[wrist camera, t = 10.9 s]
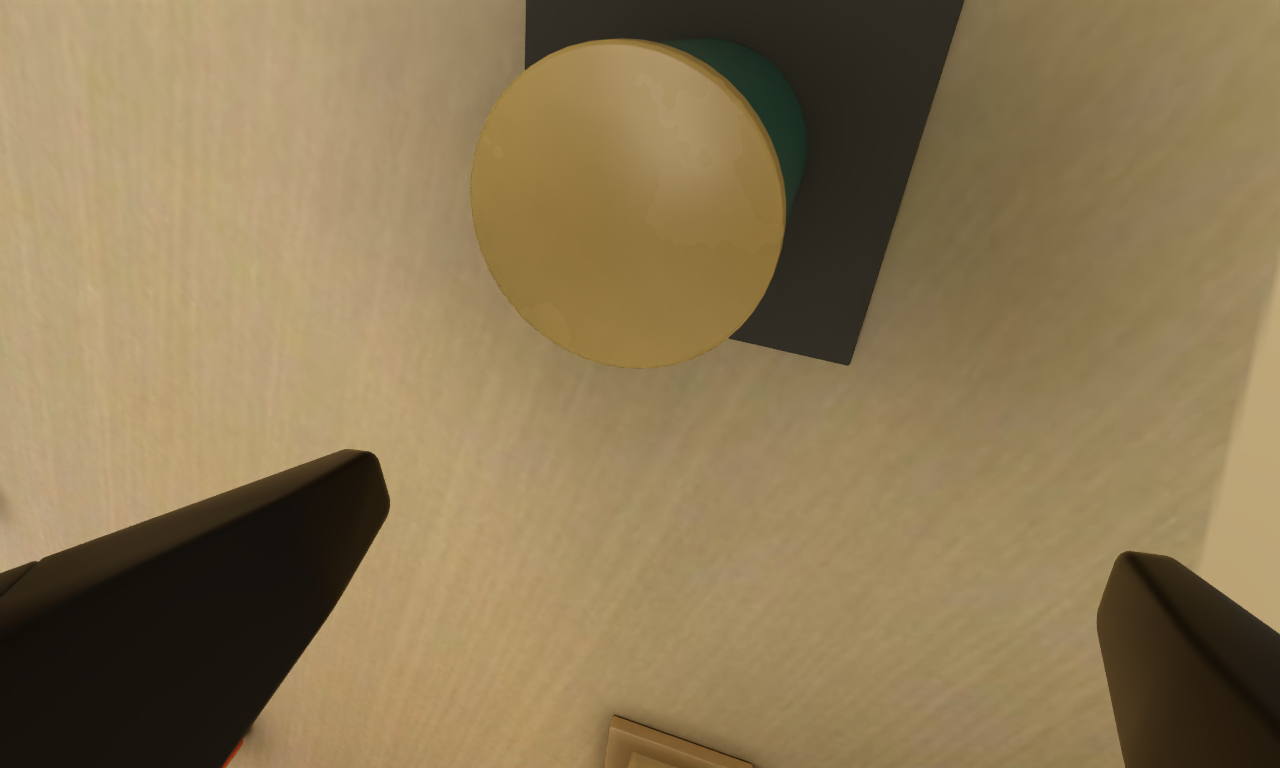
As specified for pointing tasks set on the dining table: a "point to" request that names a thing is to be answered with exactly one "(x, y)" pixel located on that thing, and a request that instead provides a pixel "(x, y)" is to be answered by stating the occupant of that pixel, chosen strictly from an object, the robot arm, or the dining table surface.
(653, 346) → the tea tin
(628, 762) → the stand
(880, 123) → the mat
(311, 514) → the robot arm
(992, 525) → the dining table surface
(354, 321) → the dining table surface
